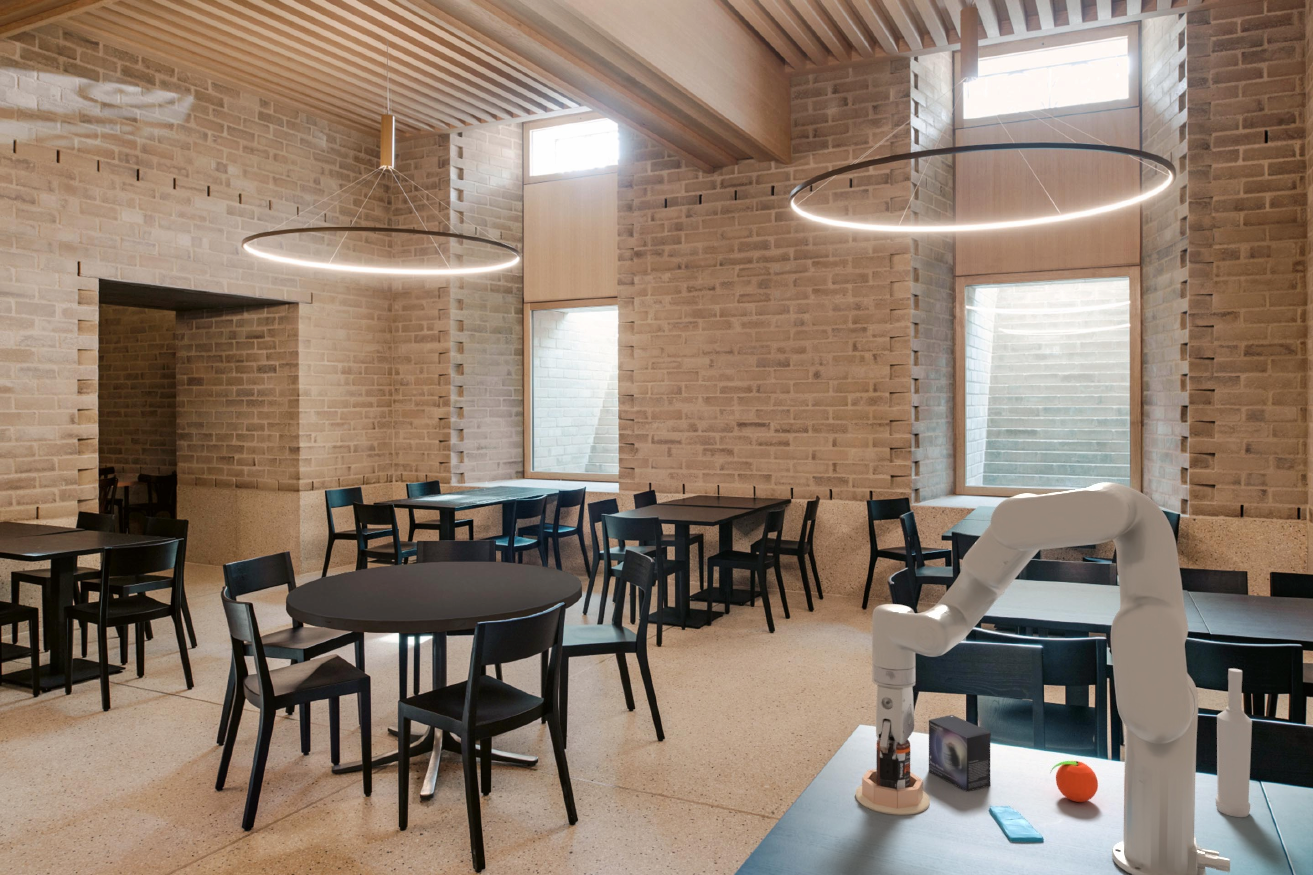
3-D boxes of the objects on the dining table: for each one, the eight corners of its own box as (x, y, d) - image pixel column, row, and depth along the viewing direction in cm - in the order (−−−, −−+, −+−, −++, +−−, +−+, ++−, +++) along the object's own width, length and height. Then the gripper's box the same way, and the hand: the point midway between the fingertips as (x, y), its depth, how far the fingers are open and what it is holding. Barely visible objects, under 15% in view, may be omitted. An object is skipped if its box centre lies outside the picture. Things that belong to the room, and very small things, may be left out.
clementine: (1053, 805, 160) (1053, 766, 160) (1046, 789, 167) (1046, 751, 167) (1101, 810, 158) (1102, 770, 158) (1092, 793, 165) (1093, 755, 165)
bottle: (1216, 813, 157) (1219, 671, 156) (1214, 802, 162) (1216, 664, 161) (1251, 820, 155) (1254, 675, 154) (1248, 808, 159) (1251, 668, 158)
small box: (925, 771, 176) (926, 718, 175) (951, 765, 178) (952, 713, 178) (965, 792, 166) (966, 736, 166) (992, 786, 169) (992, 730, 168)
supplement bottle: (911, 796, 160) (911, 733, 159) (877, 794, 161) (877, 731, 160) (909, 783, 165) (909, 722, 165) (875, 780, 167) (875, 720, 166)
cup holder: (936, 792, 166) (936, 773, 166) (921, 820, 154) (921, 800, 154) (866, 778, 172) (866, 760, 172) (846, 805, 161) (847, 785, 160)
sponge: (1021, 806, 159) (988, 802, 159) (1046, 839, 147) (1010, 834, 147) (1020, 815, 159) (986, 810, 159) (1045, 848, 147) (1009, 843, 147)
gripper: (903, 690, 153) (903, 794, 154) (924, 664, 168) (924, 760, 169) (860, 684, 157) (860, 786, 157) (884, 659, 172) (884, 753, 172)
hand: (893, 771), depth 163 cm, fingers closed on supplement bottle, 5 cm apart
